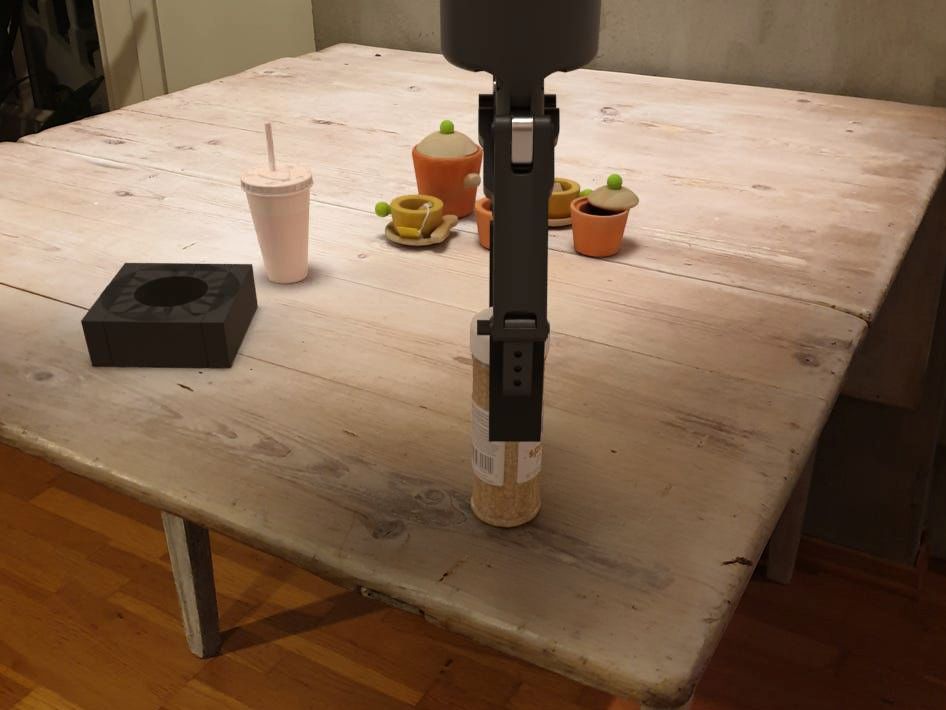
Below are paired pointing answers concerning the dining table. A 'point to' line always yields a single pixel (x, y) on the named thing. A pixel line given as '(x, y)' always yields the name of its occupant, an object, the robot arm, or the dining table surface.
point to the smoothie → (280, 214)
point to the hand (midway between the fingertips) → (512, 373)
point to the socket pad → (171, 315)
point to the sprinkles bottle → (500, 451)
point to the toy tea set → (454, 193)
